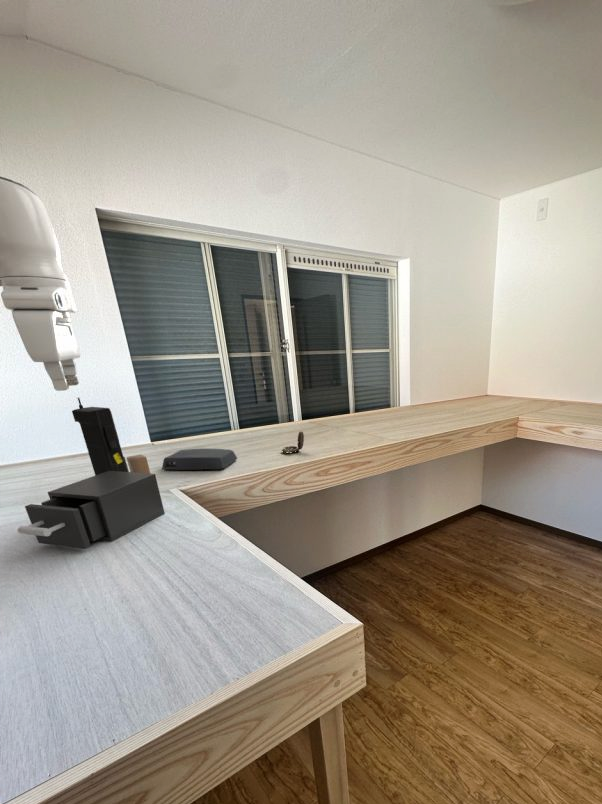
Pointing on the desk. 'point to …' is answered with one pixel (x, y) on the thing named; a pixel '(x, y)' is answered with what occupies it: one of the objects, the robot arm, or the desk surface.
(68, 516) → the fryer drawer
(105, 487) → the air fryer
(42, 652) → the desk surface
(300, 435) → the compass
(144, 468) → the wooden block
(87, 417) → the portable radio
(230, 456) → the hard drive
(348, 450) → the desk surface
